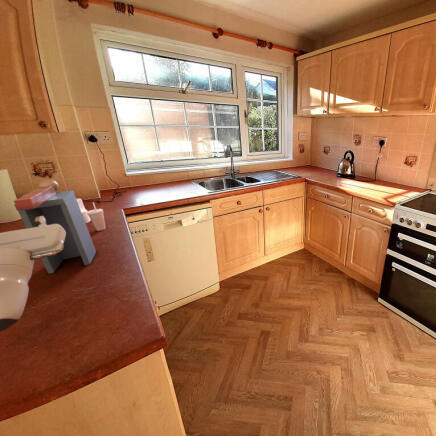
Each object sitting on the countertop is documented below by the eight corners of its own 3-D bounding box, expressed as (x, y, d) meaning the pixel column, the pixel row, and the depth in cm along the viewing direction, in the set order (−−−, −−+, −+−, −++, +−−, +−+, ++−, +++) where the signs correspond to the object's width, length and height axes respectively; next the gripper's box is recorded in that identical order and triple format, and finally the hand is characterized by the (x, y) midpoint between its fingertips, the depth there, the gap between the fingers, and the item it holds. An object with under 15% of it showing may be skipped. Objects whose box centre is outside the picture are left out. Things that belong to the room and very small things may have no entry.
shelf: (89, 265, 90) (63, 198, 81) (47, 274, 85) (13, 204, 76) (96, 251, 100) (73, 190, 91) (59, 258, 95) (30, 195, 86)
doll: (37, 208, 72) (30, 191, 70) (15, 211, 70) (6, 194, 68) (63, 190, 91) (57, 177, 89) (45, 192, 89) (39, 178, 87)
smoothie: (111, 228, 122) (102, 201, 117) (96, 232, 117) (86, 205, 112) (105, 225, 126) (96, 199, 120) (91, 230, 121) (81, 203, 116)
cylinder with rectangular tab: (81, 225, 127) (73, 203, 122) (64, 226, 127) (55, 204, 122) (94, 219, 135) (87, 198, 130) (78, 219, 135) (70, 198, 130)
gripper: (56, 246, 60) (61, 206, 67) (-68, 270, 52) (-47, 221, 59) (68, 259, 65) (72, 220, 72) (-44, 283, 56) (-27, 236, 64)
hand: (17, 221), depth 65 cm, fingers open, 8 cm apart
